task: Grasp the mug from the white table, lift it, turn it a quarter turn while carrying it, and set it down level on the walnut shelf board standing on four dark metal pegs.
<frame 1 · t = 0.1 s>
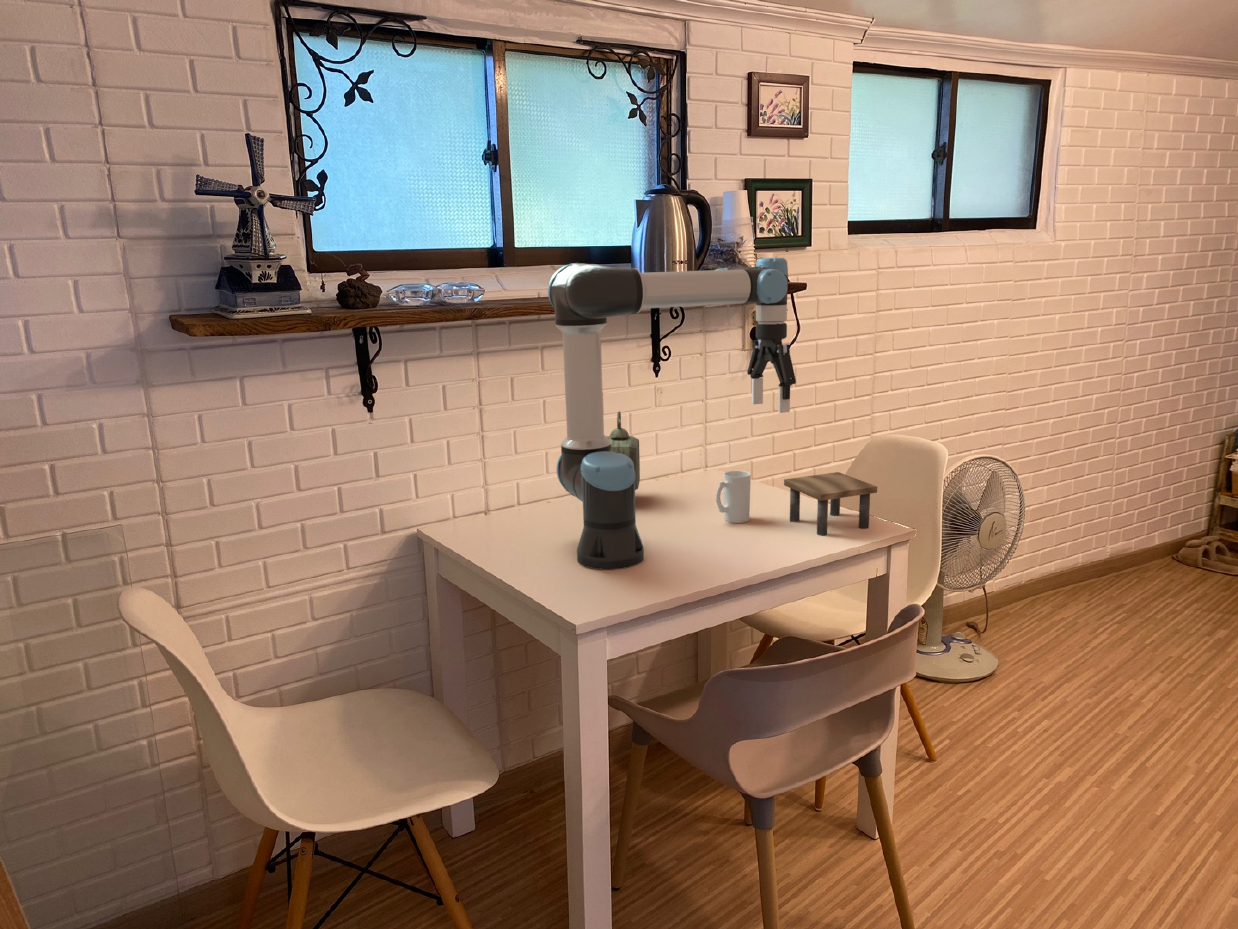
hand: (770, 408, 231), 28 cm above the table, fingers open, 13 cm apart
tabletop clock: (622, 502, 253), on the table
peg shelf: (828, 523, 228), on the table
mug: (731, 521, 233), on the table
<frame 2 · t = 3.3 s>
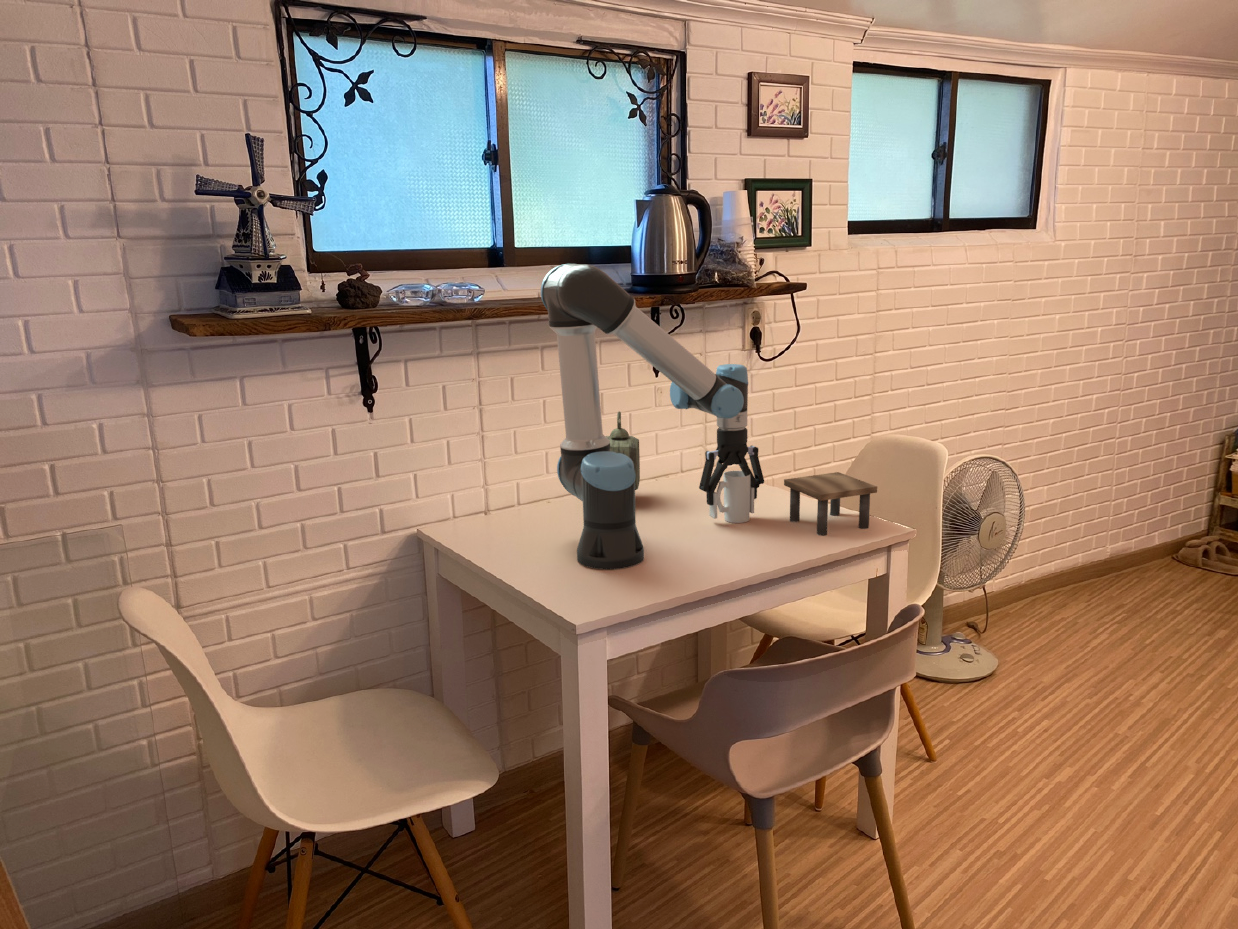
hand: (731, 514, 232), 2 cm above the table, fingers closed on mug, 10 cm apart
mug: (731, 521, 233), on the table, touching gripper
everything else where it was.
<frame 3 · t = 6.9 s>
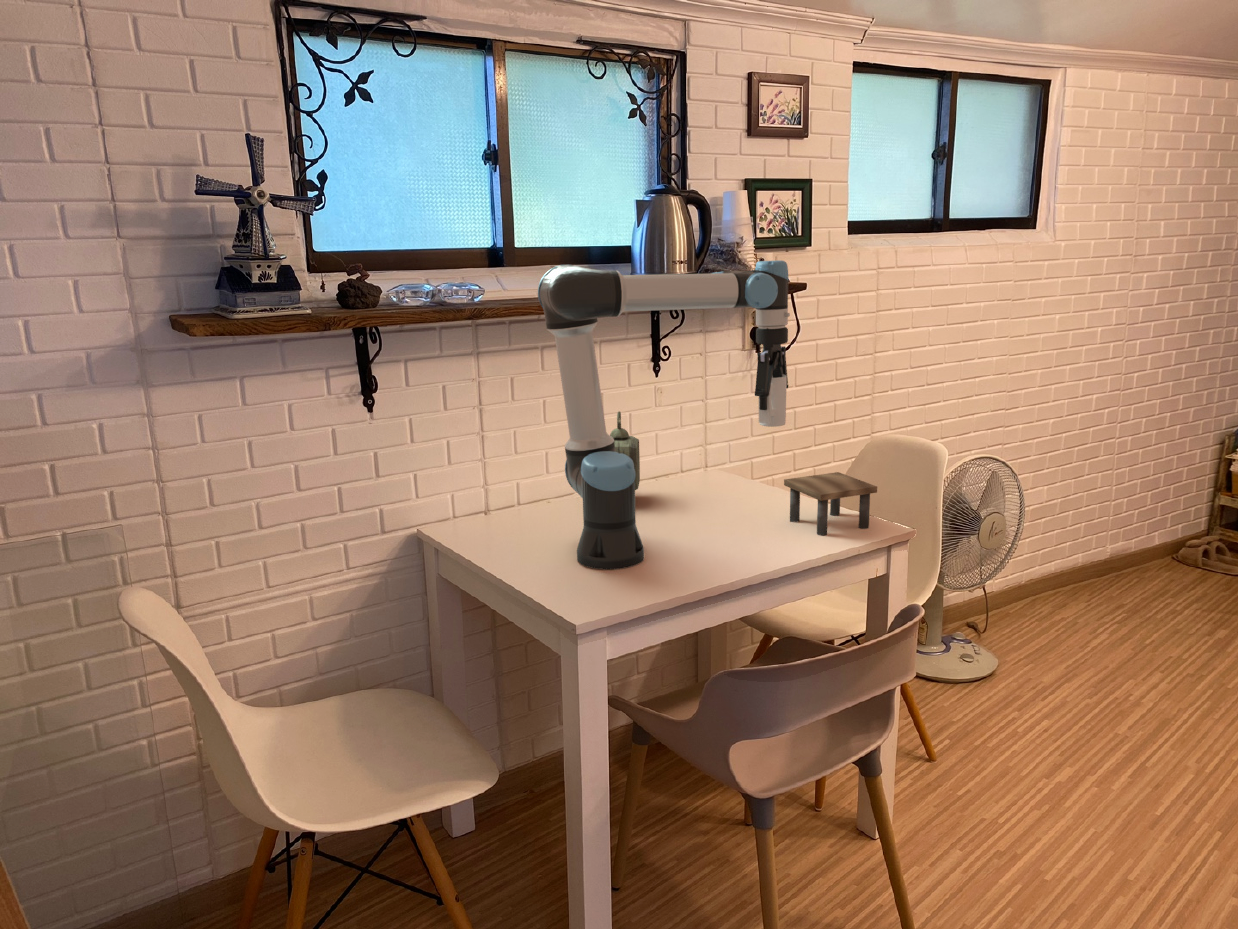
hand: (771, 418, 225), 26 cm above the table, fingers closed on mug, 10 cm apart
mug: (771, 426, 226), point 24 cm above the table, touching gripper
everything else where it was.
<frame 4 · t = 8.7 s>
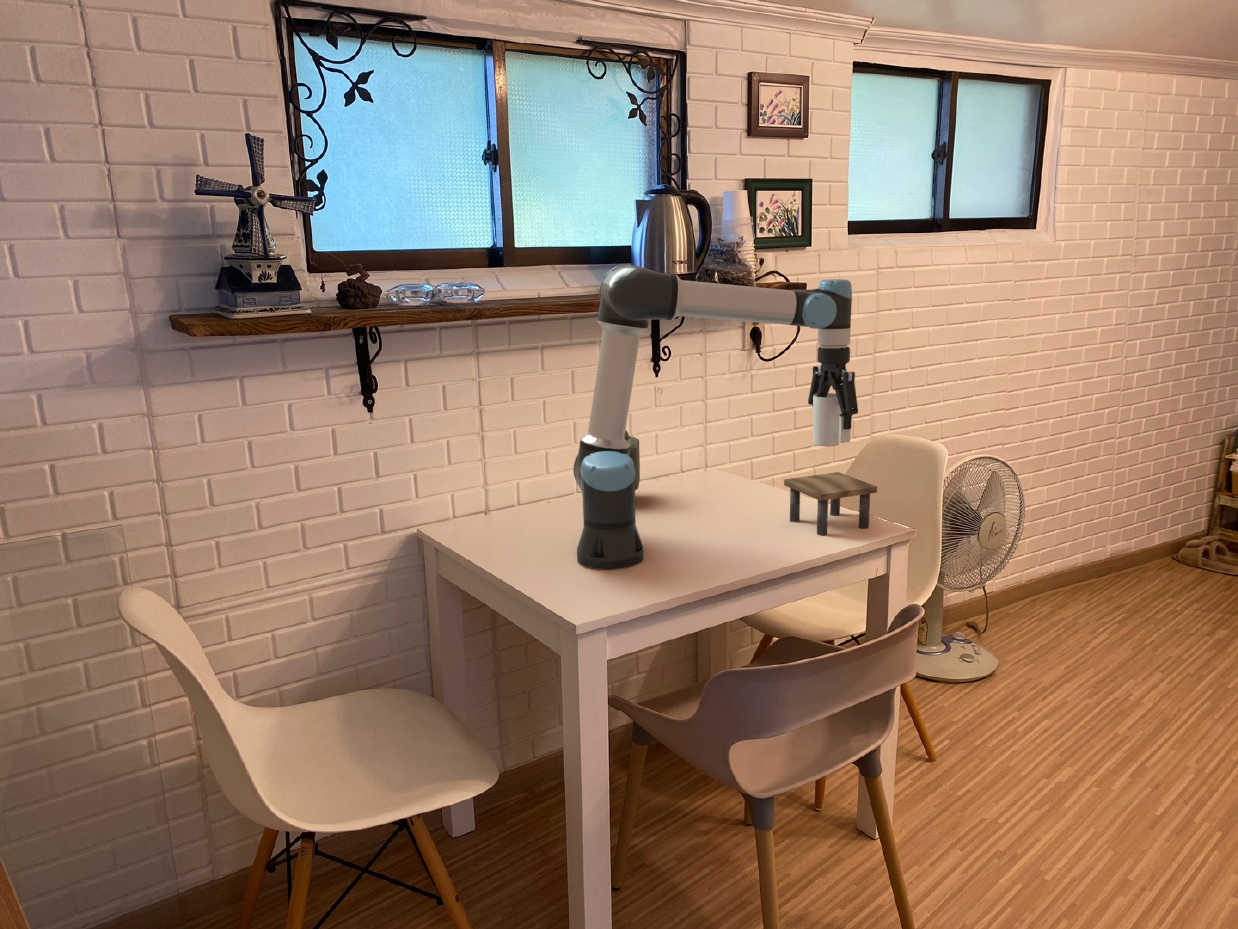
hand: (831, 438, 223), 22 cm above the table, fingers closed on mug, 10 cm apart
mug: (831, 445, 224), point 20 cm above the table, touching gripper
everything else where it was.
when the fingers open (14 cm above the table, at t = 10.5 s): mug drops 2 cm, resting on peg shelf.
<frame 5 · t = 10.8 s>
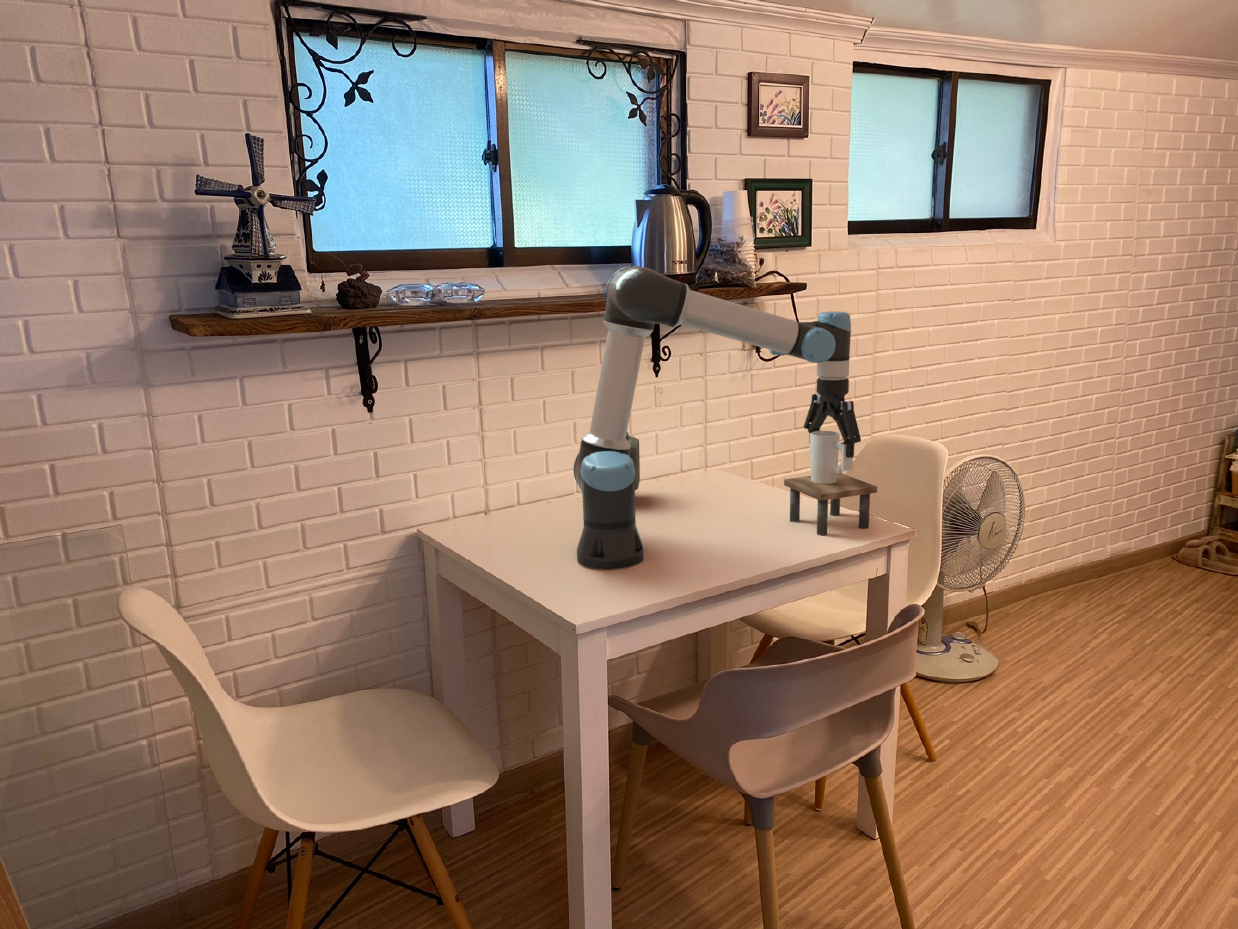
hand: (830, 464, 225), 15 cm above the table, fingers open, 13 cm apart
mug: (828, 483, 226), point 10 cm above the table, touching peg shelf
everything else where it was.
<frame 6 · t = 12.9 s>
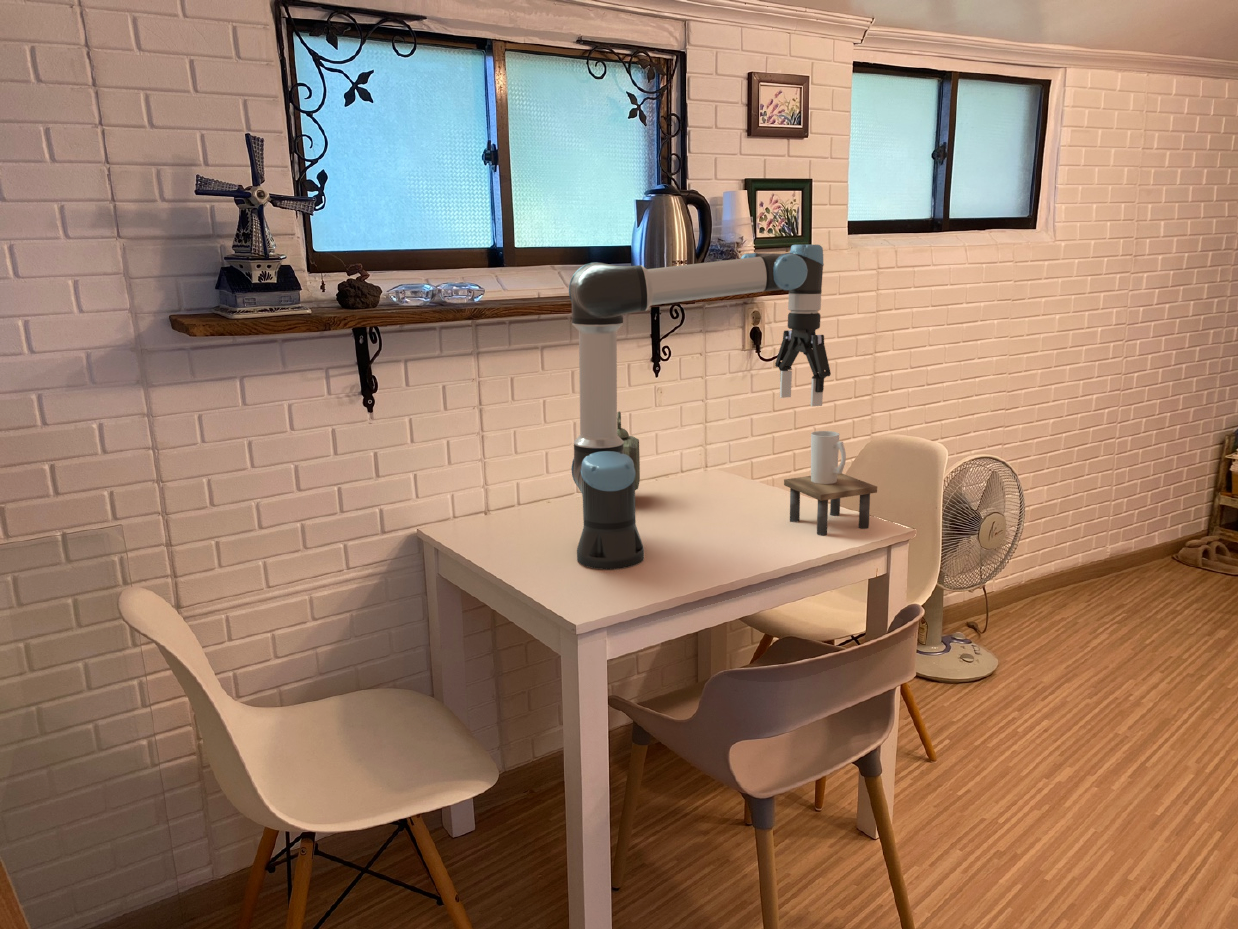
hand: (800, 401, 221), 31 cm above the table, fingers open, 13 cm apart
nothing on the table moved.
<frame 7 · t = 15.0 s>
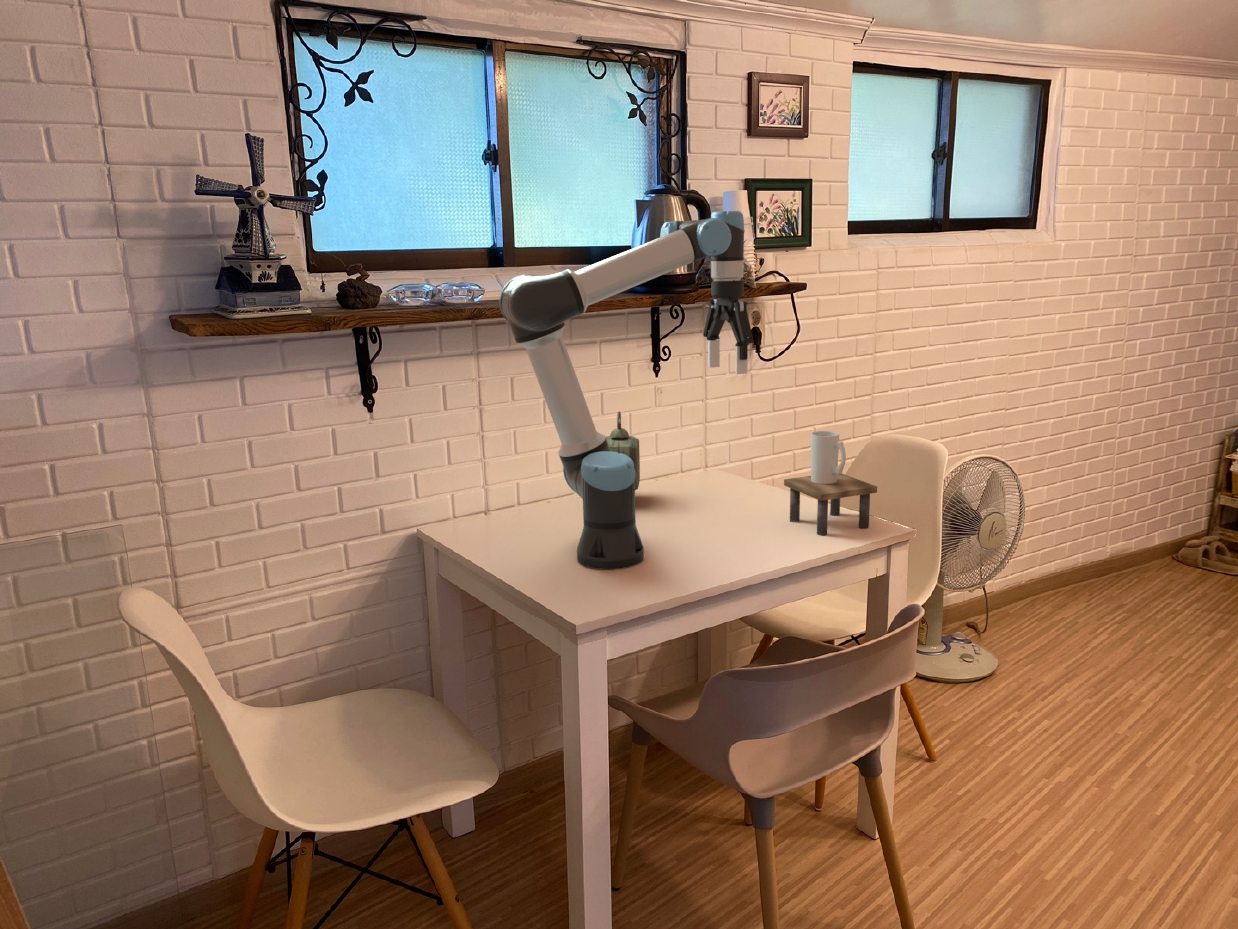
hand: (727, 370, 220), 39 cm above the table, fingers open, 13 cm apart
nothing on the table moved.
at the end: mug inside the target area on the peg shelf (0.3 cm from its centre), point 10.3 cm above the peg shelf's base; mug tilted 0°; the gripper is holding nothing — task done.
